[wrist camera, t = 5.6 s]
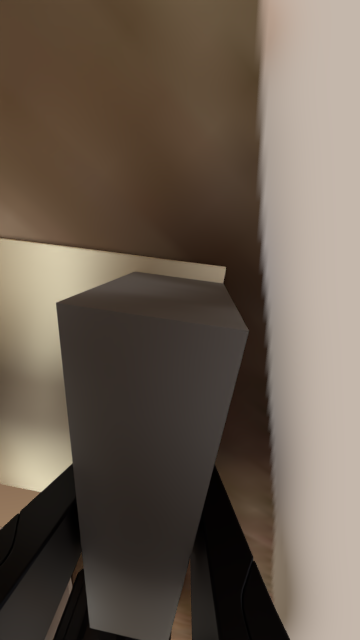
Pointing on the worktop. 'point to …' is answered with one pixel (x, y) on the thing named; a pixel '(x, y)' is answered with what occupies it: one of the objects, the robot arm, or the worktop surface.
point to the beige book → (118, 409)
